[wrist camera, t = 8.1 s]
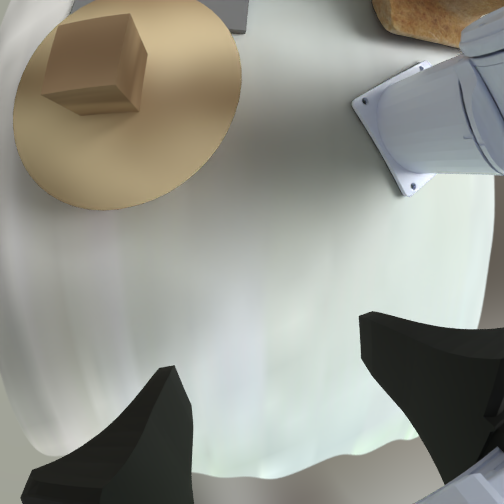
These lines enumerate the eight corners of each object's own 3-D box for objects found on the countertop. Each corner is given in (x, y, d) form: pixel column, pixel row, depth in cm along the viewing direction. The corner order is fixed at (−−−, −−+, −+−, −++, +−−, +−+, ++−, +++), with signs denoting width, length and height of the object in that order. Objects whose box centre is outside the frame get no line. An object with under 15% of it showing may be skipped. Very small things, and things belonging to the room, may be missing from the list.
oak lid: (45, 14, 10) (11, -22, 5) (247, -3, 12) (262, -57, 7) (13, 210, 12) (-43, 222, 8) (231, 211, 14) (243, 223, 10)
